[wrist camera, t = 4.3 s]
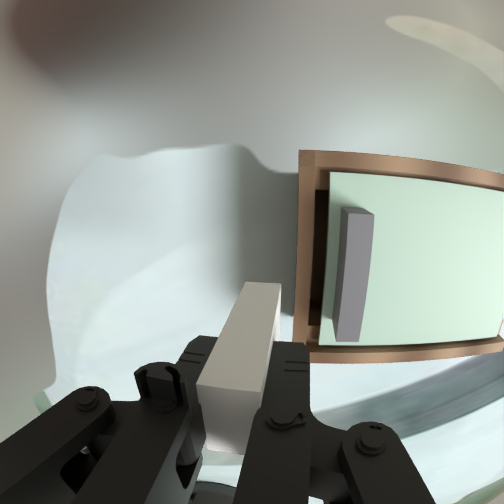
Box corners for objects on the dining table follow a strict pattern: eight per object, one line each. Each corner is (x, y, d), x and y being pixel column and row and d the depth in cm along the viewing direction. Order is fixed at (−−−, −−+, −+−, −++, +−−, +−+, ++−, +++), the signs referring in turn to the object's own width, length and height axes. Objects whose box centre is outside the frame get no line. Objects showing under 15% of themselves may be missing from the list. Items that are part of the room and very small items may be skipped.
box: (293, 318, 28) (290, 362, 21) (298, 155, 24) (298, 149, 17) (470, 317, 25) (501, 350, 18) (492, 177, 21) (537, 182, 14)
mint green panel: (318, 339, 22) (320, 368, 18) (329, 171, 19) (336, 172, 15) (492, 332, 19) (512, 353, 16) (519, 195, 16) (547, 201, 13)
